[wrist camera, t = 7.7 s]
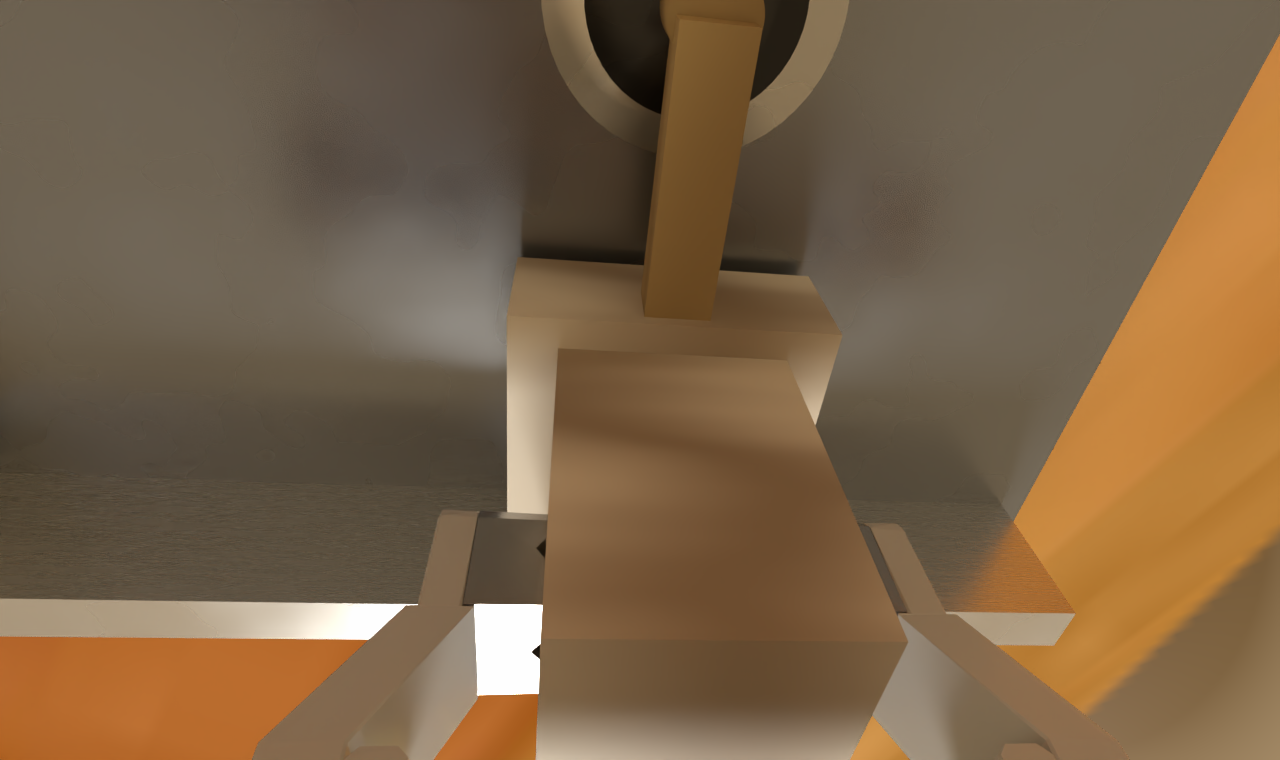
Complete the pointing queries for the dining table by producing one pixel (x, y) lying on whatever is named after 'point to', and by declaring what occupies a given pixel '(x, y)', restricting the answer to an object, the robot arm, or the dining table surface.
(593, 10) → the divider plate
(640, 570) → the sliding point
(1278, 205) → the dining table surface
